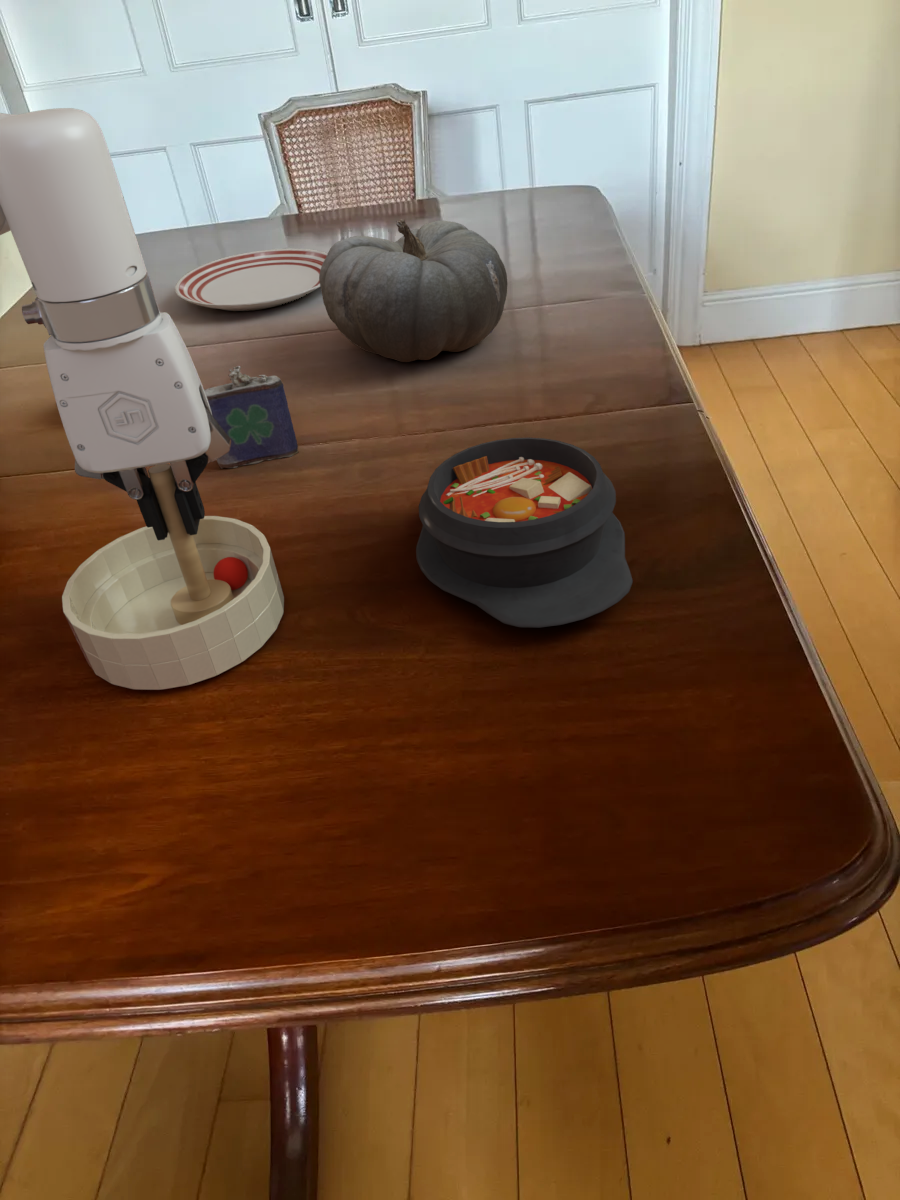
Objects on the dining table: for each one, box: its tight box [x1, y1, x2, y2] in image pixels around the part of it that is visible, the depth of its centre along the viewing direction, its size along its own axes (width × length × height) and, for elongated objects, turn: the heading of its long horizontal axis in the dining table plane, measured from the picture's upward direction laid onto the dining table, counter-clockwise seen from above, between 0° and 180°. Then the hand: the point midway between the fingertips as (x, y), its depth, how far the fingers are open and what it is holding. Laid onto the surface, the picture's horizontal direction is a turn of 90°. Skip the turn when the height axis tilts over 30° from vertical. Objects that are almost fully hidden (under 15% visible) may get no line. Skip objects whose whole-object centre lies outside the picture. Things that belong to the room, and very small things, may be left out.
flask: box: [204, 365, 299, 469], centre depth 99 cm, size 9×3×11 cm, turn 102°
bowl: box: [61, 515, 285, 691], centre depth 77 cm, size 17×17×6 cm
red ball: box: [214, 557, 248, 590], centre depth 80 cm, size 3×3×3 cm
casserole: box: [415, 437, 634, 629], centre depth 78 cm, size 25×19×8 cm
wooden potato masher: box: [147, 463, 234, 625], centre depth 75 cm, size 5×5×14 cm
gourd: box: [319, 218, 508, 363], centre depth 120 cm, size 25×25×17 cm
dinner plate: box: [174, 248, 328, 312], centre depth 149 cm, size 27×27×3 cm
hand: (179, 527), depth 74 cm, fingers closed on wooden potato masher
